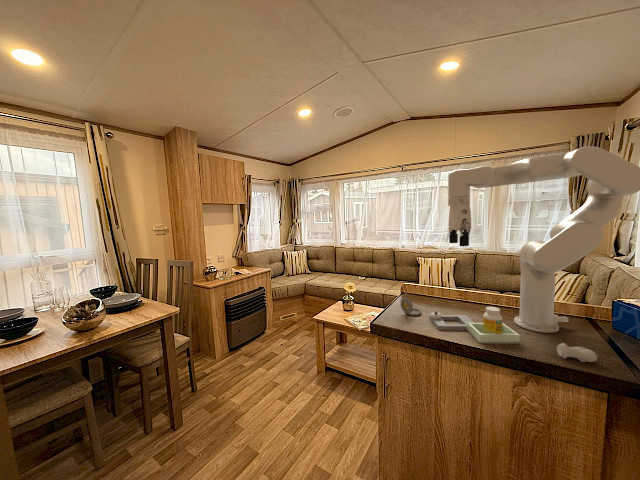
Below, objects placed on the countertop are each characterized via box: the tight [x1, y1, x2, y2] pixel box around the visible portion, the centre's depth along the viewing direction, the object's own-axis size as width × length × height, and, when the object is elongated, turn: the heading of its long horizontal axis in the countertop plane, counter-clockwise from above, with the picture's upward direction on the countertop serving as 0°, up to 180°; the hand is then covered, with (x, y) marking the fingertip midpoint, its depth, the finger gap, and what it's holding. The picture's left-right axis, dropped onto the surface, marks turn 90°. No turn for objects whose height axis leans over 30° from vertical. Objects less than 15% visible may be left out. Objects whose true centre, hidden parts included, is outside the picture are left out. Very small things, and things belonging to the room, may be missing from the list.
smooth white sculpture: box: [556, 342, 598, 363], centre depth 71 cm, size 4×8×5 cm
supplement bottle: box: [482, 306, 503, 334], centre depth 85 cm, size 5×5×10 cm
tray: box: [466, 322, 521, 345], centre depth 85 cm, size 12×9×3 cm
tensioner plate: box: [429, 311, 475, 331], centre depth 96 cm, size 14×10×4 cm
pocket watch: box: [400, 292, 422, 316], centre depth 108 cm, size 8×8×10 cm
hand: (458, 244), depth 100 cm, fingers open, 9 cm apart
